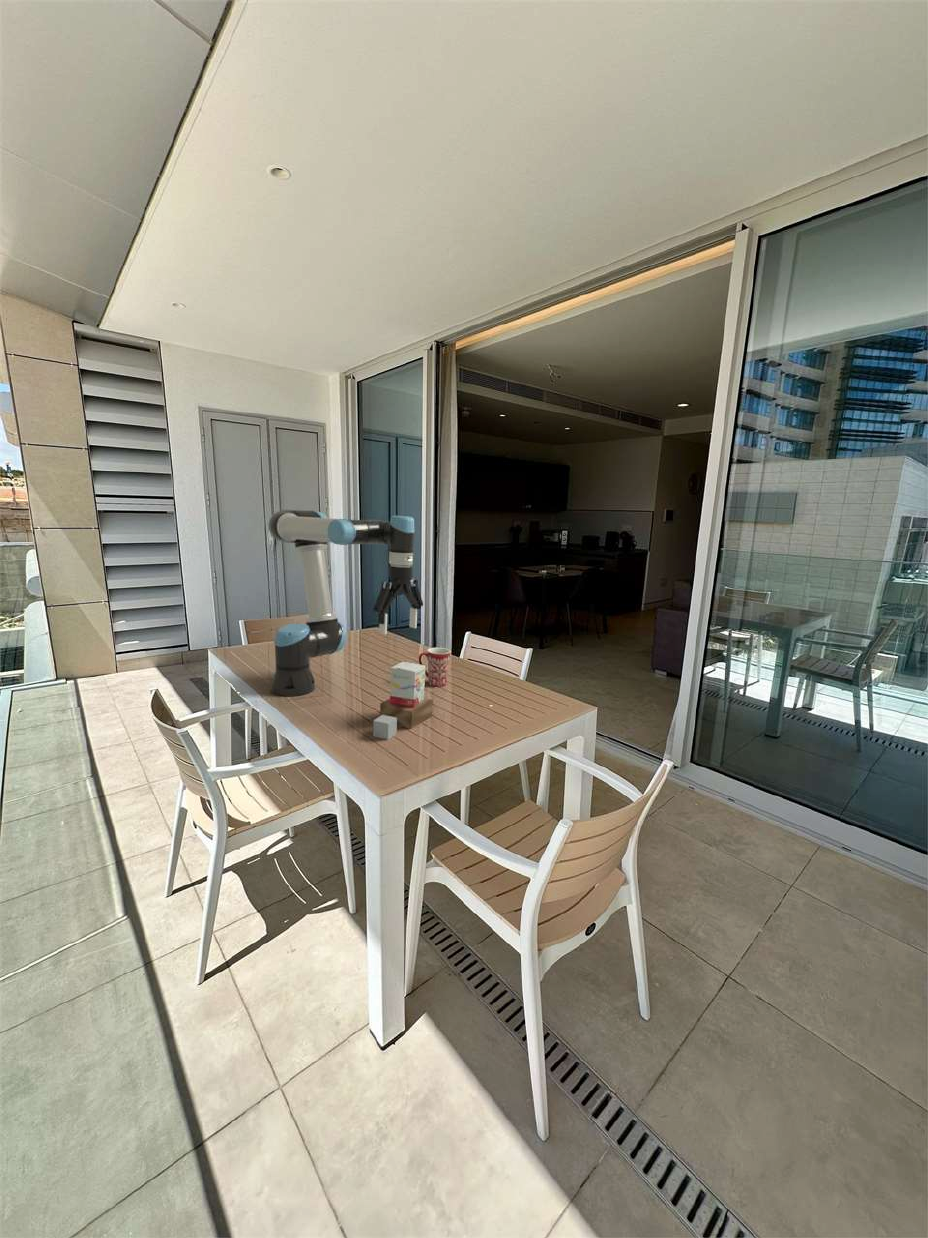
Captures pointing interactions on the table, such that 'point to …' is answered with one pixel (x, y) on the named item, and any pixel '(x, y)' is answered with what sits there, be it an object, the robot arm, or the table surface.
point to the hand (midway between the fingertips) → (398, 630)
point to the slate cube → (385, 727)
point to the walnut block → (408, 712)
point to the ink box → (407, 684)
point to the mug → (437, 666)
